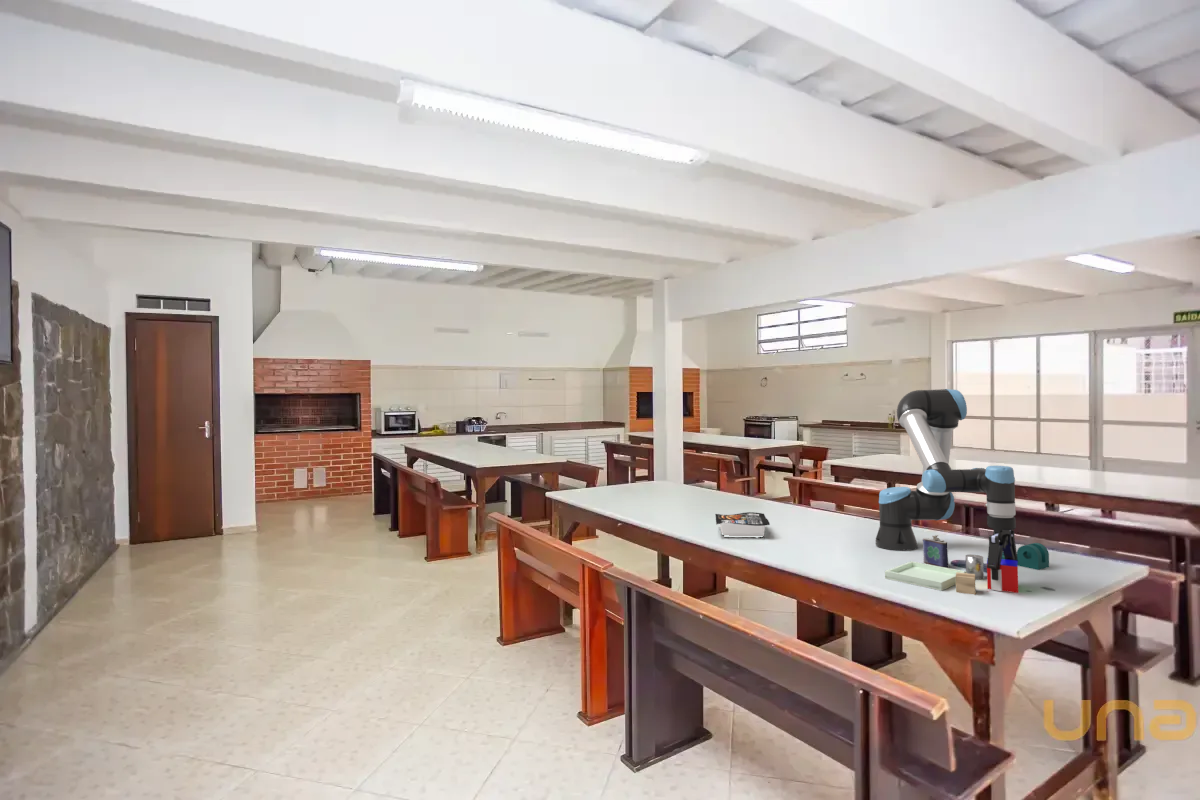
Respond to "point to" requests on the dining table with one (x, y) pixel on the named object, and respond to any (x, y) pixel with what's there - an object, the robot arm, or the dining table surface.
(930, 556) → the flask
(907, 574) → the tray
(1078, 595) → the dining table surface
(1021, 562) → the bracket
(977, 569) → the grey canister
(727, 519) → the food packaging
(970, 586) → the oak block
